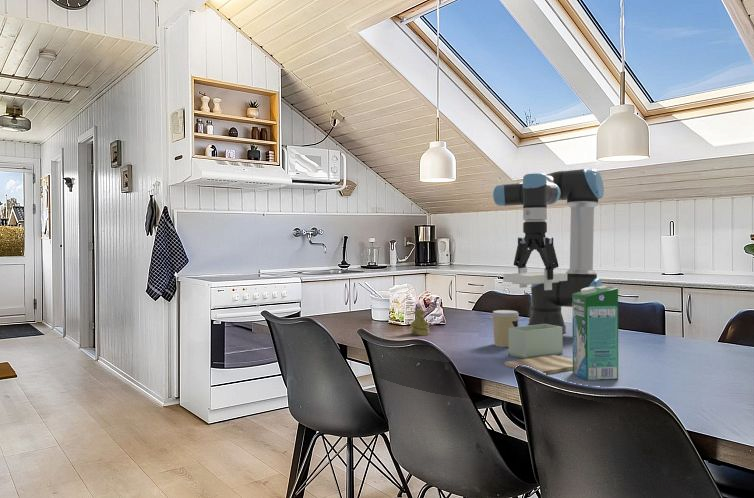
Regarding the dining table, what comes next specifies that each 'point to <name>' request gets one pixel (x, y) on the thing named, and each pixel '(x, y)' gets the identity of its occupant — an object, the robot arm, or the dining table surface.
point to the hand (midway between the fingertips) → (535, 288)
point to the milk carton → (595, 332)
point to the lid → (532, 278)
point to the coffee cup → (503, 326)
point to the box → (535, 341)
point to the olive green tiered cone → (419, 324)
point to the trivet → (545, 363)
